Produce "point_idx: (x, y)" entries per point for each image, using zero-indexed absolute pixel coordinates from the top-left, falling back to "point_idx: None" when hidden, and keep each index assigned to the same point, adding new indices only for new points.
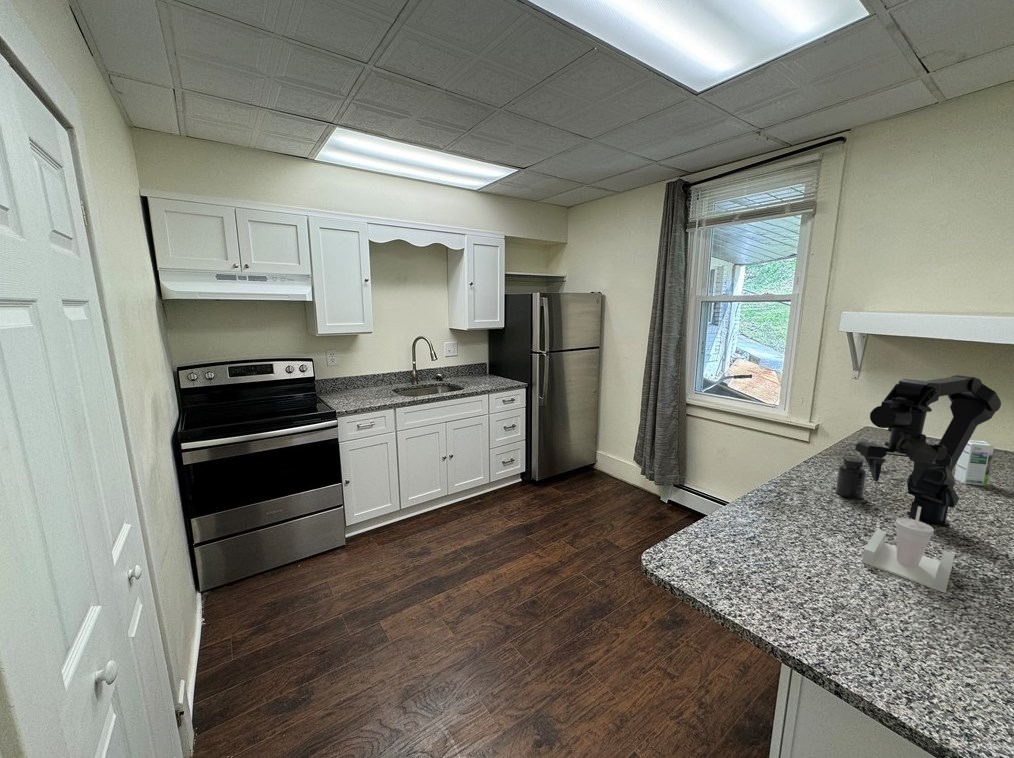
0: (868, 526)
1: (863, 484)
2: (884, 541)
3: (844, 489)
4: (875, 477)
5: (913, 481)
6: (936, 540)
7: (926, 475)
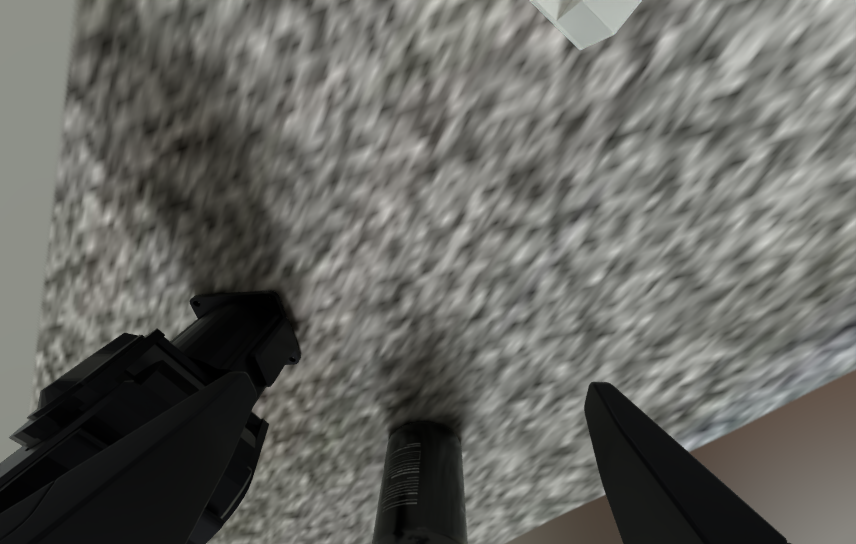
0: (504, 219)
1: (393, 480)
2: (571, 2)
3: (453, 455)
4: (649, 423)
5: (236, 428)
6: (284, 159)
7: (32, 497)
